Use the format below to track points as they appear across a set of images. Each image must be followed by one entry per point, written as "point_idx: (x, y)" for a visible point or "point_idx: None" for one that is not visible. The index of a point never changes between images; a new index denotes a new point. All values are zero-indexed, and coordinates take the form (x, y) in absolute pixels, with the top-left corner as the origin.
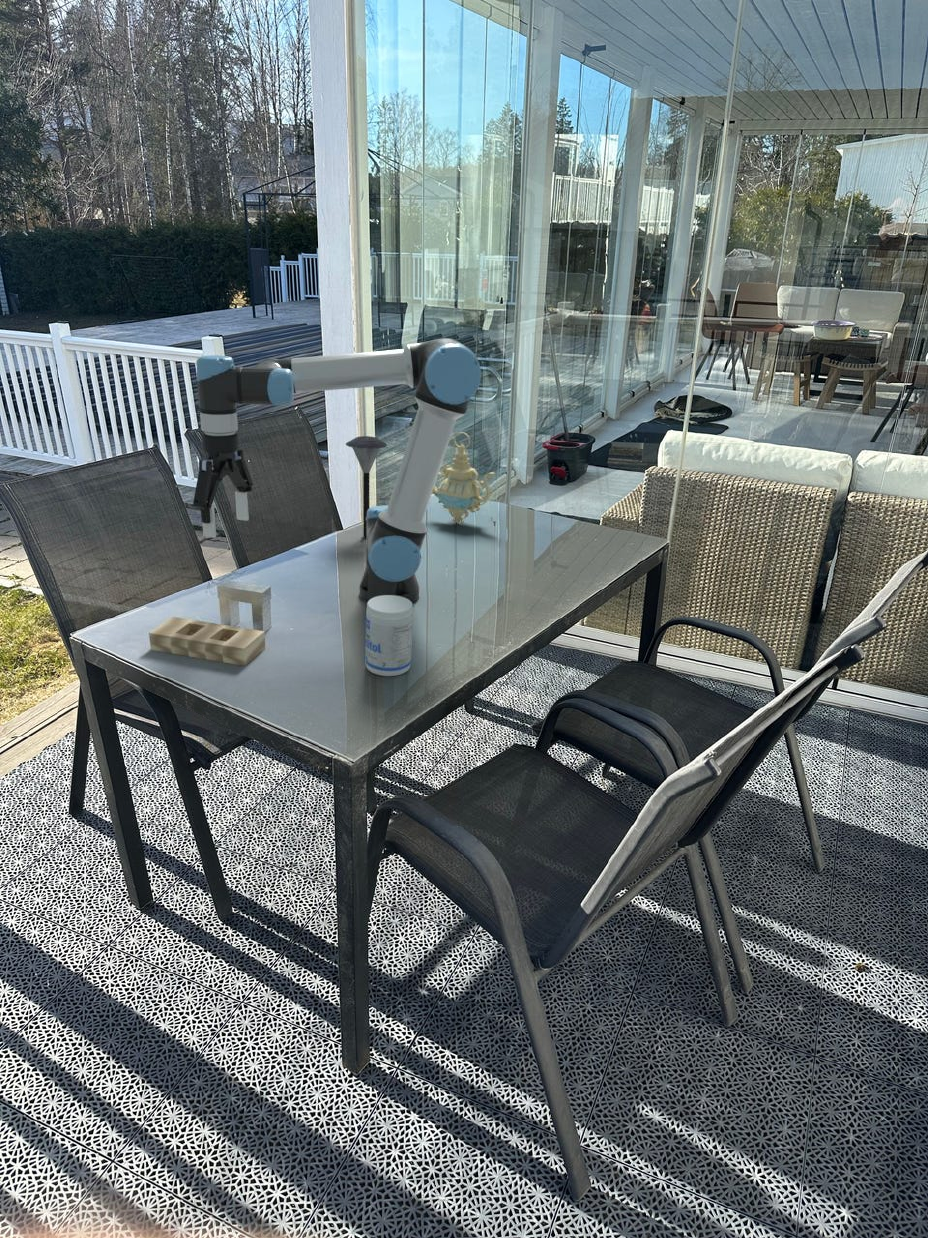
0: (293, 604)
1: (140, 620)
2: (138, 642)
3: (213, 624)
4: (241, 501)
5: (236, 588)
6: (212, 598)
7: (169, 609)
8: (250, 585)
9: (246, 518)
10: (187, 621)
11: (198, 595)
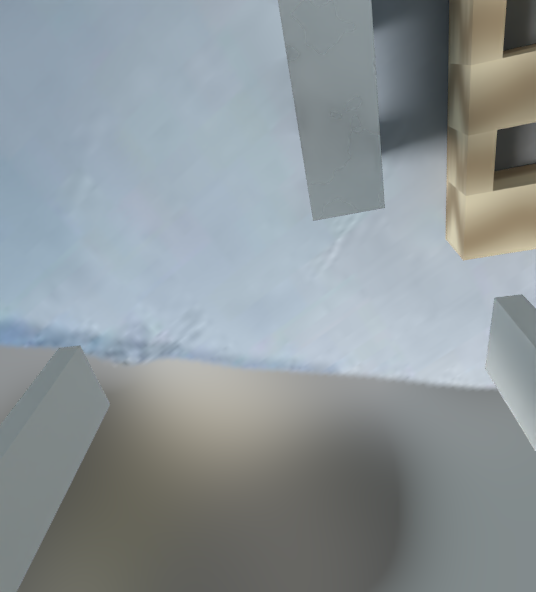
0: (92, 76)
1: (408, 345)
2: (525, 273)
3: (479, 112)
4: (22, 492)
5: (375, 119)
6: (216, 302)
7: (325, 336)
8: (315, 88)
9: (74, 360)
10: (482, 203)
11: (223, 337)
